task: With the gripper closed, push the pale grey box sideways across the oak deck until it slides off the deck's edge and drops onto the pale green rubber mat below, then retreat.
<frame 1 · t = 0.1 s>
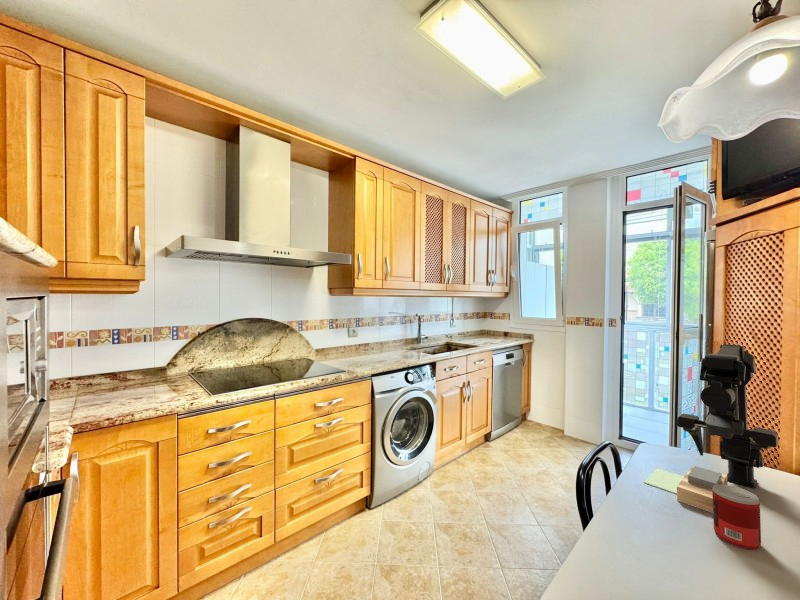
hand: (725, 461, 88), 14 cm above the table, fingers open, 9 cm apart
canned food: (736, 539, 79), on the table
pale grey box: (704, 481, 97), point 4 cm above the table, touching deck
mat: (668, 481, 105), on the table
deck: (703, 494, 98), on the table
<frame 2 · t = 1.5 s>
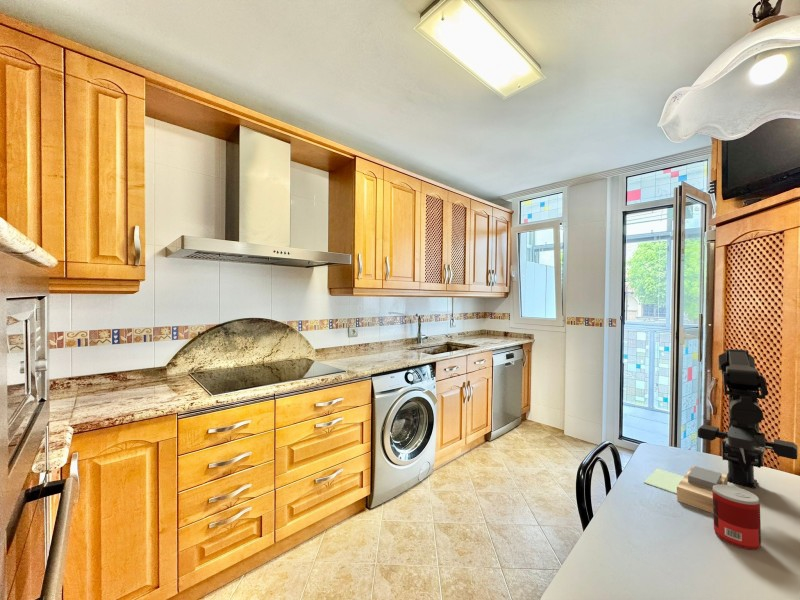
hand: (745, 471, 91), 10 cm above the table, fingers closed
nothing on the table moved.
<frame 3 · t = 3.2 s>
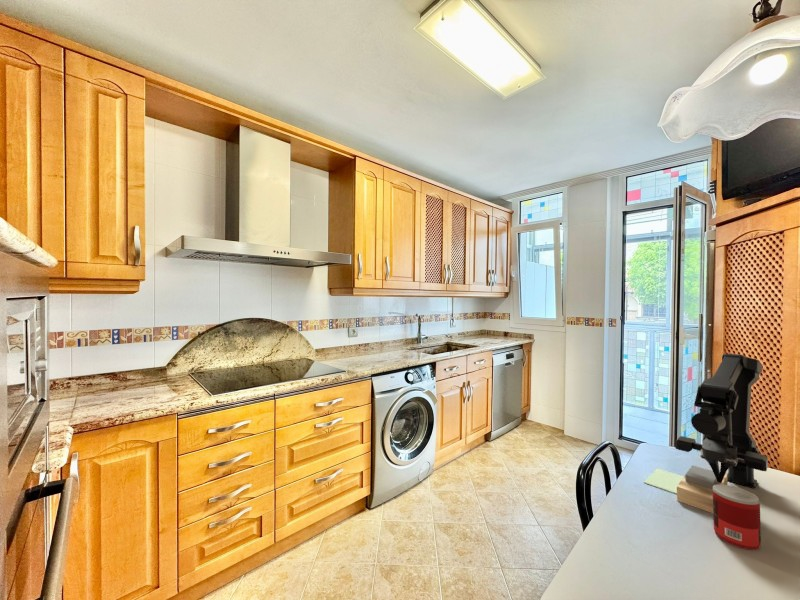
hand: (719, 482, 95), 5 cm above the table, fingers closed
pale grey box: (702, 480, 98), point 4 cm above the table, touching deck, gripper
everything else where it was.
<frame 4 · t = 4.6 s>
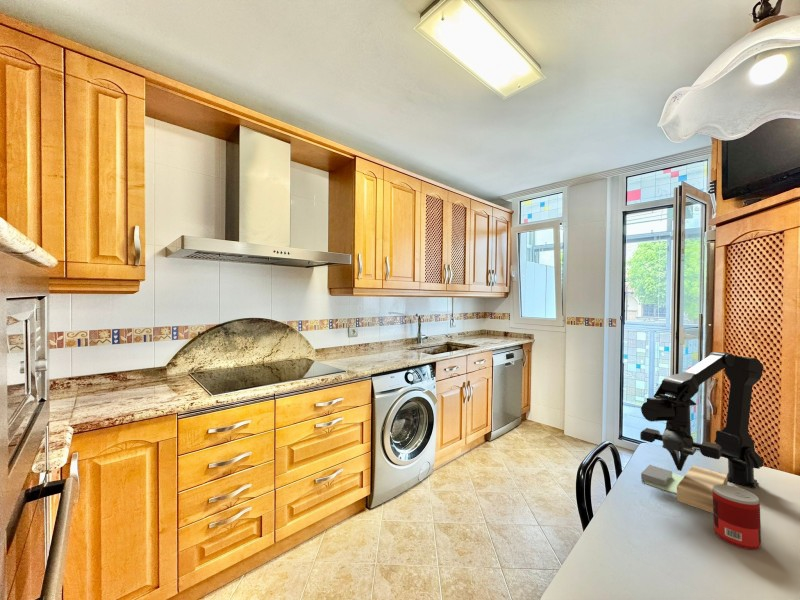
hand: (679, 470, 102), 5 cm above the table, fingers closed
pale grey box: (656, 472, 106), point 2 cm above the table, tilted 180°, touching mat
everything else where it was.
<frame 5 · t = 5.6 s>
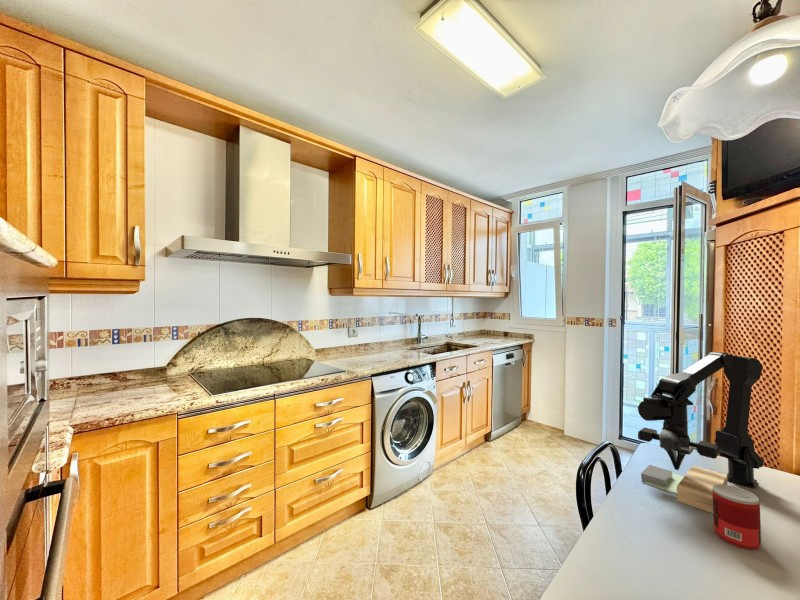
hand: (676, 469, 102), 5 cm above the table, fingers closed
nothing on the table moved.
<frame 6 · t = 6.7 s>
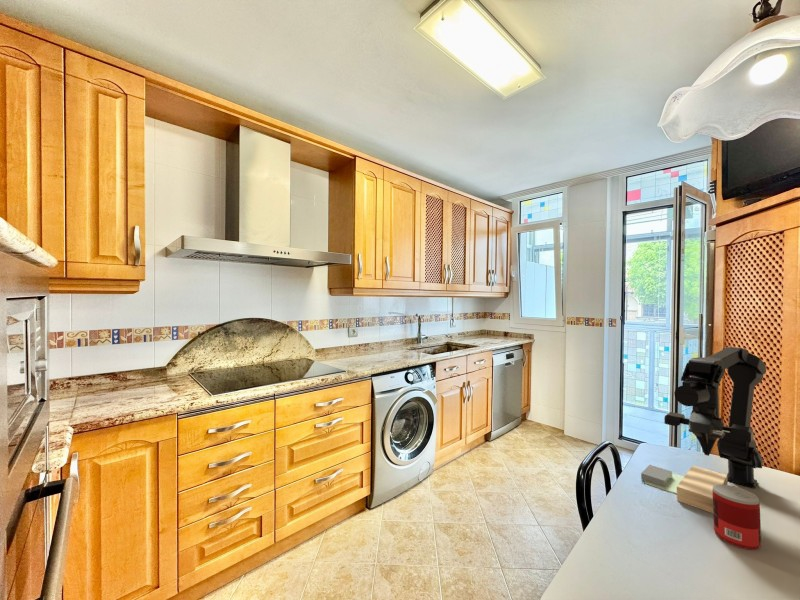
hand: (707, 455, 97), 12 cm above the table, fingers closed
nothing on the table moved.
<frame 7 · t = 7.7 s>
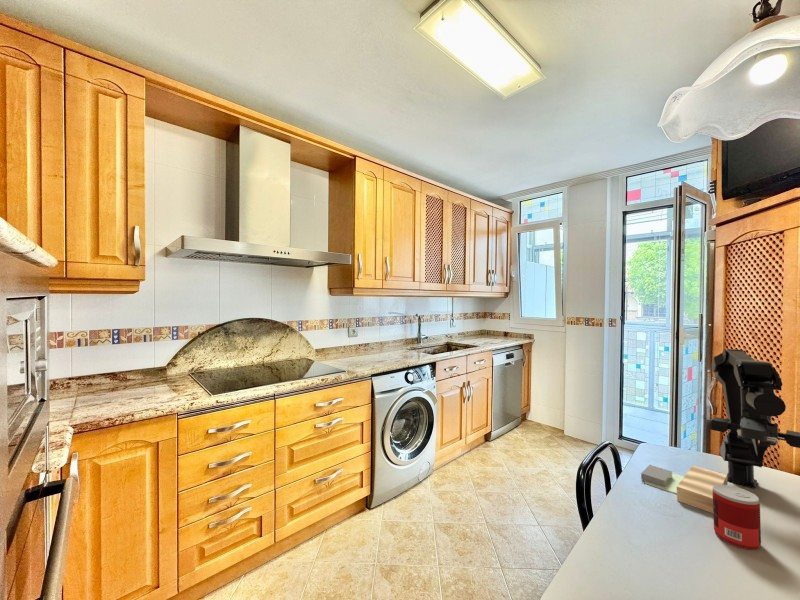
hand: (757, 462, 92), 12 cm above the table, fingers closed
nothing on the table moved.
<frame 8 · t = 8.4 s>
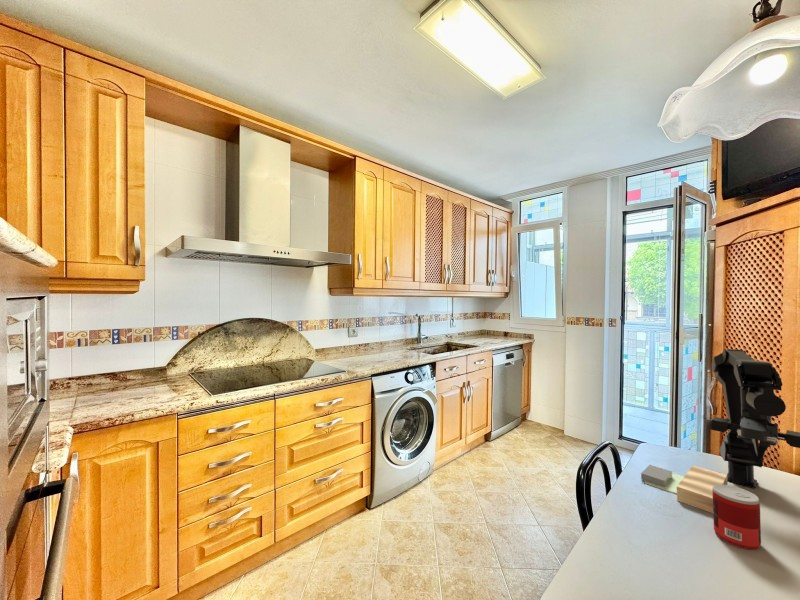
hand: (757, 462, 92), 12 cm above the table, fingers closed
nothing on the table moved.
at the end: pale grey box point 2.3 cm above the table; pale grey box inside the target area on the mat (2.9 cm from its centre), point 2.3 cm above the mat's base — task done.
